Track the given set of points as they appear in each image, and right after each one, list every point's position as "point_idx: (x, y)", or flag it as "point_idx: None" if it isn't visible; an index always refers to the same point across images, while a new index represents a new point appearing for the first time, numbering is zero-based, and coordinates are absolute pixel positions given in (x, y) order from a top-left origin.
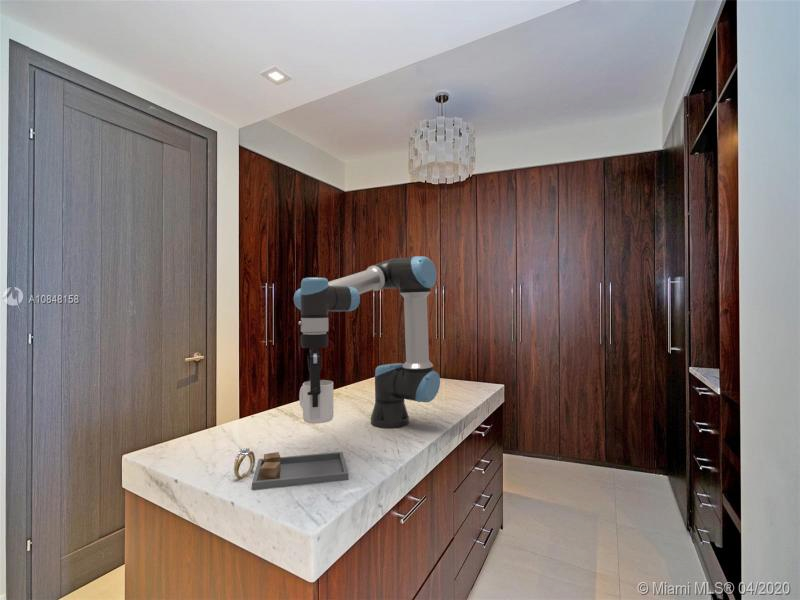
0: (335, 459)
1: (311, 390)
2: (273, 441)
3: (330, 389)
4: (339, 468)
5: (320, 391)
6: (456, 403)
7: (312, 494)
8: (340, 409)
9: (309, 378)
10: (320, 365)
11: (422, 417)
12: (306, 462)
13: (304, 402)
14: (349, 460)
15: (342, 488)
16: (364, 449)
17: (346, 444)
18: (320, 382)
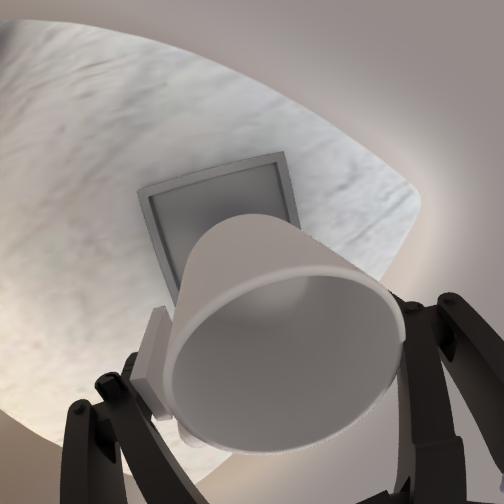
0: (155, 205)
1: (455, 339)
2: (70, 369)
3: (344, 260)
4: (214, 182)
5: (452, 295)
6: None
7: (327, 220)
8: None
9: (110, 453)
10: (463, 463)
11: None
12: (179, 274)
13: (314, 364)
14: (144, 170)
15: (303, 163)
16: (75, 148)
17: (47, 205)
18: (177, 388)
